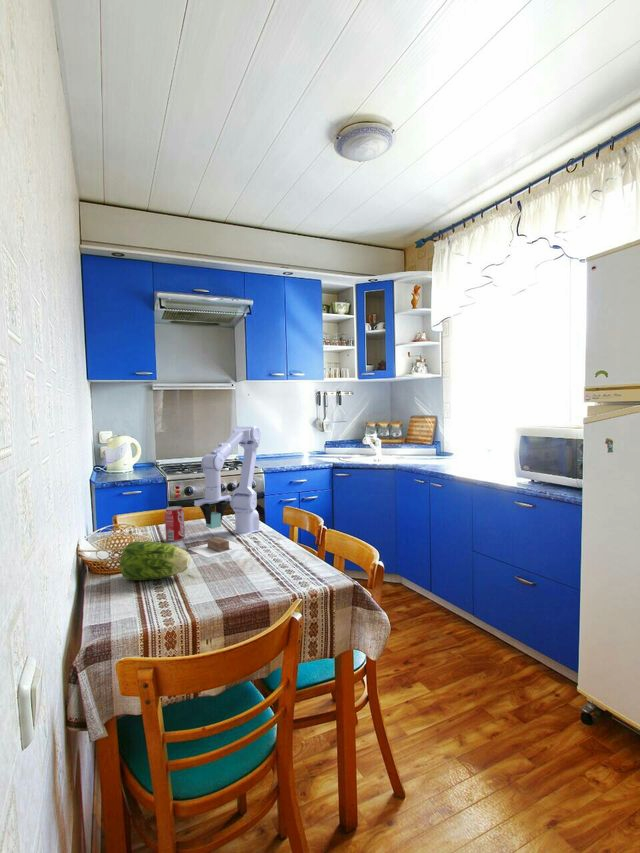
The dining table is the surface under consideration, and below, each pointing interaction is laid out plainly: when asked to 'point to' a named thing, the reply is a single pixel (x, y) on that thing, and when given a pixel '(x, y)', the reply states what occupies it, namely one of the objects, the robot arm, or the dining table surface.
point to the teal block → (215, 520)
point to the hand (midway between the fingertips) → (213, 522)
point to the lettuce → (152, 560)
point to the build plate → (210, 552)
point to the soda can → (174, 524)
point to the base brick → (218, 544)
